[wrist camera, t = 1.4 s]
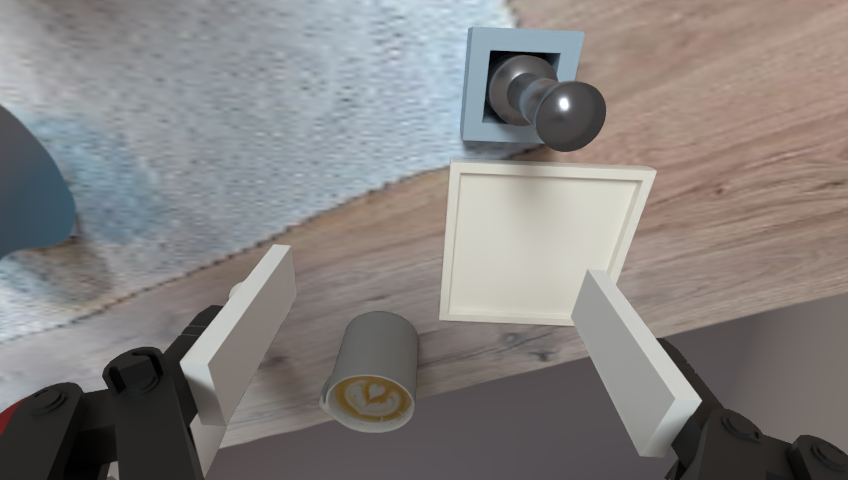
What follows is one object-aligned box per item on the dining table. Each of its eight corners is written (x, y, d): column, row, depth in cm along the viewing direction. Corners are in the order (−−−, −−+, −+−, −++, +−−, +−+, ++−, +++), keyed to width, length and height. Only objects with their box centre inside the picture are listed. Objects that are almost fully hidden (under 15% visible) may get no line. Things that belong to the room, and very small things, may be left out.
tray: (450, 157, 36) (450, 162, 35) (648, 166, 36) (657, 170, 35) (438, 312, 46) (438, 320, 45) (595, 318, 46) (600, 327, 44)
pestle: (486, 52, 32) (531, 62, 17) (543, 54, 32) (636, 66, 17) (479, 112, 34) (514, 164, 20) (532, 114, 34) (606, 168, 20)
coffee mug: (399, 301, 45) (391, 364, 36) (429, 354, 50) (428, 421, 41) (308, 331, 48) (281, 396, 39) (344, 379, 52) (327, 446, 44)
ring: (468, 28, 31) (472, 26, 27) (567, 32, 31) (585, 31, 27) (459, 130, 35) (462, 140, 31) (547, 133, 35) (560, 144, 31)
